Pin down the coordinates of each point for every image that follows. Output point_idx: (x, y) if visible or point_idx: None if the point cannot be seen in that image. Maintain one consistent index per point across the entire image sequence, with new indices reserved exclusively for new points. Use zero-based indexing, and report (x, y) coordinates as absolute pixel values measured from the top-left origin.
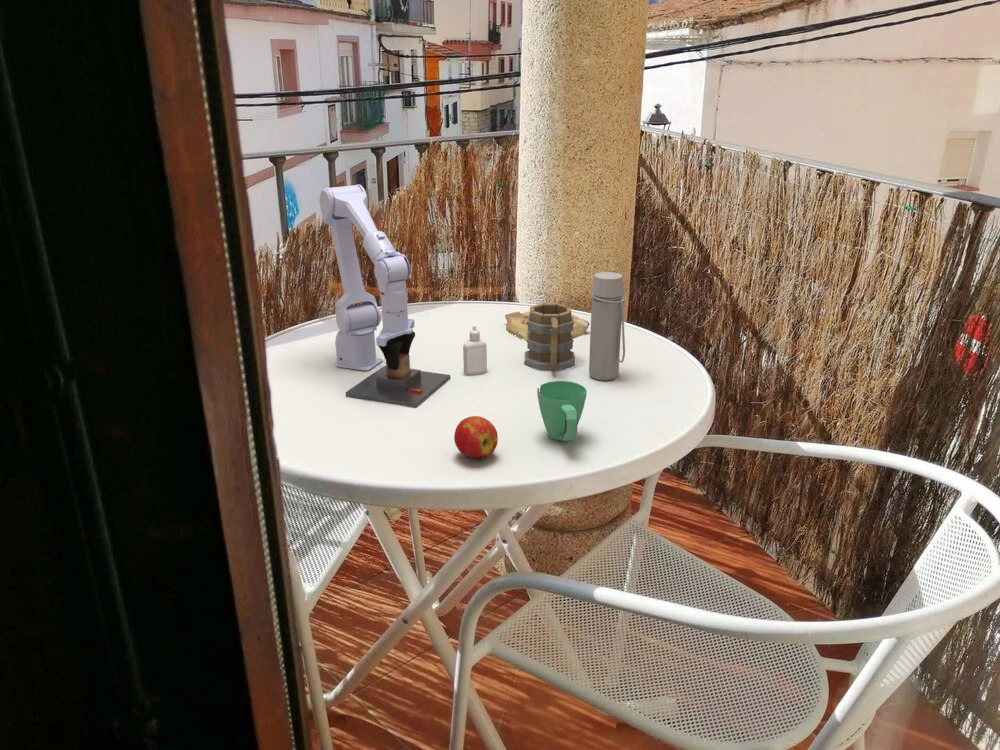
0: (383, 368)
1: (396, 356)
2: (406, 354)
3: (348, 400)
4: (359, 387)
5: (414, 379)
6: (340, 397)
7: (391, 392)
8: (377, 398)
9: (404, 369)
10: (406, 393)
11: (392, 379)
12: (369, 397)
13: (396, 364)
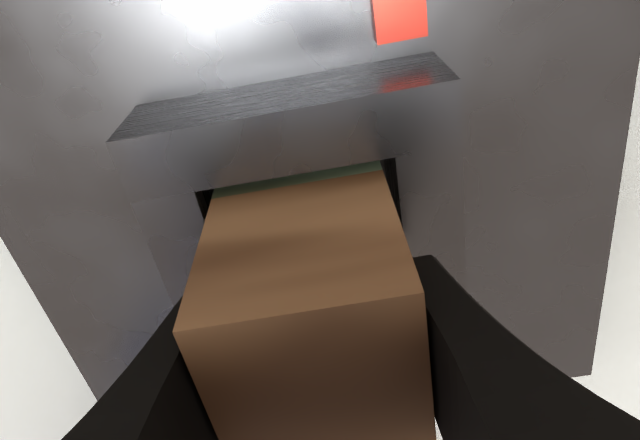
0: None
1: (546, 362)
2: (196, 358)
3: (627, 313)
4: None
5: (258, 98)
6: (596, 366)
7: (495, 147)
8: (616, 172)
9: (328, 216)
10: (468, 19)
11: (459, 218)
12: (607, 229)
13: (462, 290)
